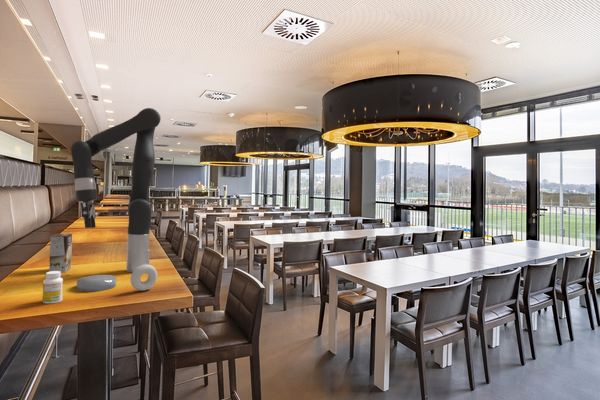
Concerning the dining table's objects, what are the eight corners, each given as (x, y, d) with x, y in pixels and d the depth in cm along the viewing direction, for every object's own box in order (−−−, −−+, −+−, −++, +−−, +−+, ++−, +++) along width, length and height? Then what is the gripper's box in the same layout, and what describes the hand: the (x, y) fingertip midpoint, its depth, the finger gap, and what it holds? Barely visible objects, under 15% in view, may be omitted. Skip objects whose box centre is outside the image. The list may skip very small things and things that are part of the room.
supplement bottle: (49, 298, 116) (50, 270, 116) (66, 298, 117) (66, 270, 117) (38, 303, 111) (39, 274, 111) (56, 304, 112) (57, 274, 111)
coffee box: (66, 272, 151) (67, 236, 150) (48, 273, 148) (49, 236, 148) (71, 267, 159) (72, 233, 159) (54, 268, 157) (55, 233, 156)
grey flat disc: (114, 280, 141) (114, 273, 141) (117, 289, 130) (117, 281, 130) (76, 284, 134) (77, 276, 134) (76, 293, 123) (76, 285, 123)
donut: (132, 294, 125) (133, 267, 125) (128, 292, 127) (129, 265, 127) (158, 289, 132) (159, 263, 132) (154, 287, 135) (155, 261, 135)
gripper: (92, 186, 139) (97, 226, 138) (99, 190, 152) (103, 226, 152) (71, 188, 136) (76, 229, 136) (79, 192, 149) (84, 229, 149)
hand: (90, 227), depth 144 cm, fingers open, 8 cm apart
